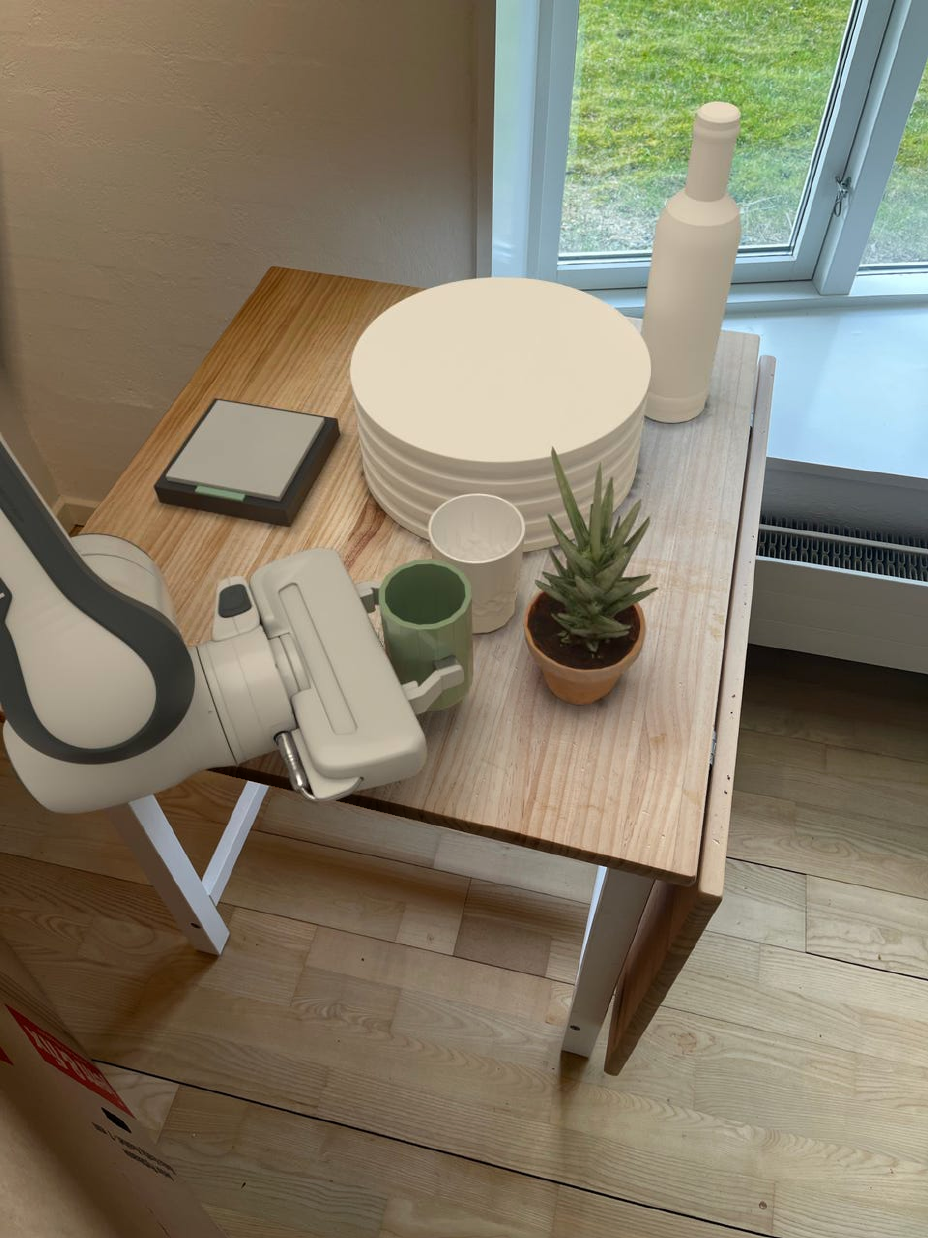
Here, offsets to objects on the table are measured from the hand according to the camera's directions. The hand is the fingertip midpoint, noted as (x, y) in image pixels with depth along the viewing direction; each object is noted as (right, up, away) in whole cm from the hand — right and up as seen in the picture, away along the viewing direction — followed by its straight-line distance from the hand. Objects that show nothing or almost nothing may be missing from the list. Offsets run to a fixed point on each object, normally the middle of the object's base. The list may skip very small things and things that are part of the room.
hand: (439, 628), depth 70 cm
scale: (-20, +16, +27) cm, 37 cm away
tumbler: (-1, -4, +4) cm, 6 cm away
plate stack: (+5, +18, +27) cm, 33 cm away
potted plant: (+12, -4, +10) cm, 16 cm away
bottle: (+24, +24, +32) cm, 47 cm away
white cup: (+3, +2, +15) cm, 15 cm away
